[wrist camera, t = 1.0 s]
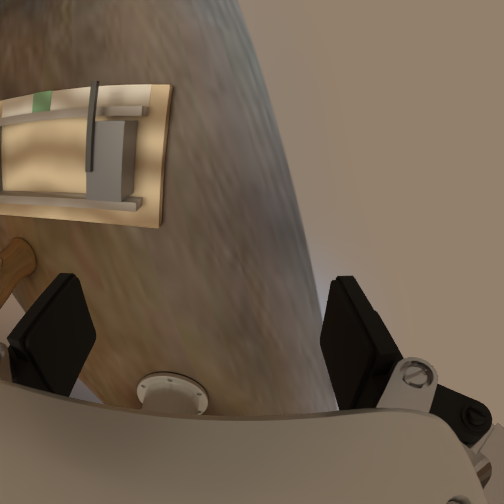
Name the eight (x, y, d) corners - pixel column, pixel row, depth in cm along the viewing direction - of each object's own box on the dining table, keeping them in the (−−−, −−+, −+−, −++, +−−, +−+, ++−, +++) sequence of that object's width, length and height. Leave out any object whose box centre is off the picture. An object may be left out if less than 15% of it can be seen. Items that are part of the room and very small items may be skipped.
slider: (133, 192, 31) (118, 204, 27) (101, 190, 30) (83, 201, 26) (142, 84, 26) (127, 79, 22) (108, 85, 26) (89, 81, 21)
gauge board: (161, 223, 34) (146, 245, 29) (2, 210, 32) (-25, 226, 26) (173, 85, 28) (158, 77, 22) (1, 101, 25) (-29, 103, 20)
